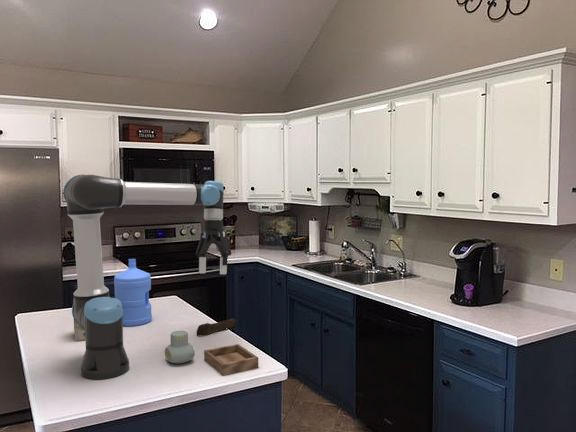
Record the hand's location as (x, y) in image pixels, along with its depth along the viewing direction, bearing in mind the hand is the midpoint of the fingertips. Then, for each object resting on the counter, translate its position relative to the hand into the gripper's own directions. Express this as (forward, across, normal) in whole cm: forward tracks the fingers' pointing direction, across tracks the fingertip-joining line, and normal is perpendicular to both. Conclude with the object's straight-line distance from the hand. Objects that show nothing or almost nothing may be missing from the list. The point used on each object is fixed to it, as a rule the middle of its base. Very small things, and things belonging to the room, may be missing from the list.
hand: (212, 273), depth 196 cm
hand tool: (+25, +8, -9) cm, 28 cm away
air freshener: (+30, -9, +20) cm, 37 cm away
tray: (+30, -24, +10) cm, 39 cm away
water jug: (+22, +46, +8) cm, 52 cm away
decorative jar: (+26, +41, +30) cm, 57 cm away
